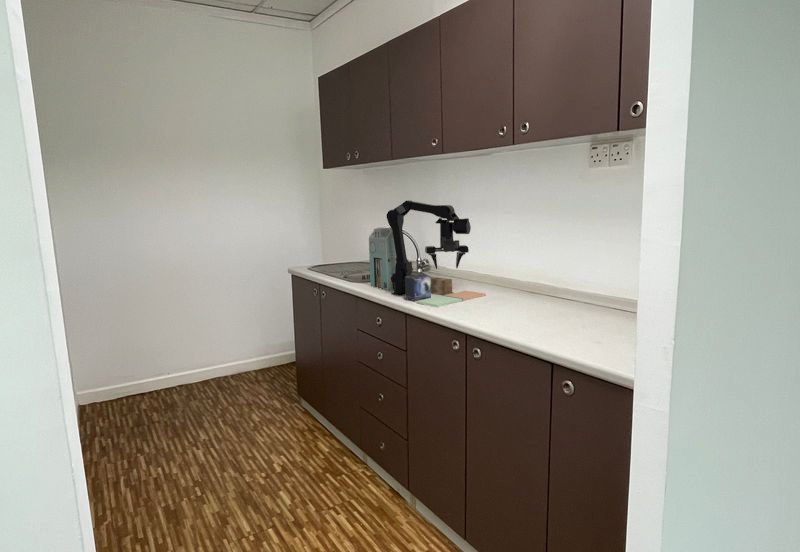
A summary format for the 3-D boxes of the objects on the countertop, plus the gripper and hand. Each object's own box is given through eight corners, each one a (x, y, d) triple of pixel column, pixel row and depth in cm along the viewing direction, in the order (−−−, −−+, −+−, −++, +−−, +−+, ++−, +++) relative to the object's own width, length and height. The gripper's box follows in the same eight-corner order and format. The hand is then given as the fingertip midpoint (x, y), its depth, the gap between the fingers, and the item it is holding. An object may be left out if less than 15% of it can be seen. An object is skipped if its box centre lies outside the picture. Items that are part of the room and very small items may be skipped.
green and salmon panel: (416, 303, 222) (416, 300, 222) (465, 292, 244) (465, 290, 244) (437, 307, 214) (436, 304, 214) (485, 295, 235) (485, 293, 235)
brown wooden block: (423, 292, 247) (422, 277, 246) (431, 290, 251) (431, 276, 250) (444, 295, 237) (444, 280, 236) (453, 293, 241) (453, 279, 240)
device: (370, 286, 268) (368, 228, 263) (383, 284, 272) (381, 227, 267) (387, 290, 254) (385, 229, 250) (400, 289, 258) (398, 228, 254)
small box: (414, 302, 226) (413, 278, 224) (404, 300, 231) (403, 276, 229) (432, 298, 232) (431, 275, 231) (422, 296, 237) (421, 273, 236)
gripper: (428, 235, 221) (428, 271, 224) (471, 234, 223) (471, 270, 225) (424, 233, 232) (425, 268, 235) (465, 232, 234) (465, 267, 236)
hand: (446, 268), depth 233 cm, fingers open, 9 cm apart
